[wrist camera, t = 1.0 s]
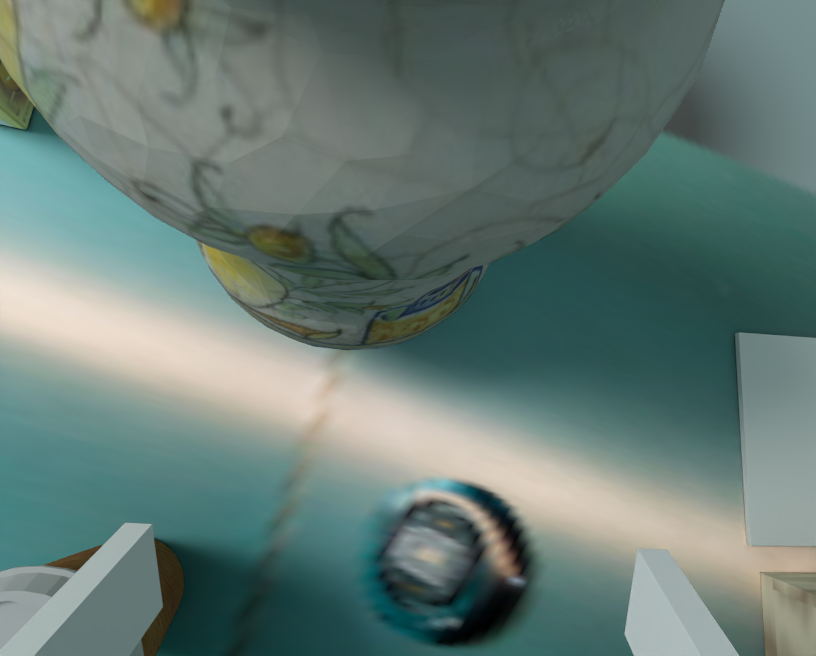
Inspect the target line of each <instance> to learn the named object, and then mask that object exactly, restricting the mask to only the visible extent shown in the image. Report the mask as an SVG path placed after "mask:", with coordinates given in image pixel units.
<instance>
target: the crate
mask: <svg viewBox="0 0 816 656" xmlns="http://www.w3.org/2000/svg"><path fill="white" fill-rule="evenodd" d="M760 574H761V591H762V607H763V624H764V640H765V656H816V573H771V572H760Z"/></svg>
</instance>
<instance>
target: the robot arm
mask: <svg viewBox="0 0 816 656" xmlns="http://www.w3.org/2000/svg"><path fill="white" fill-rule="evenodd" d="M162 608H163V603H162V595H161V588H160V580H159V573H158V565H157V558H156V550H155V543H154V535H153V528H152V524H138V523H125V524H124V525H123V526H122V527H121V528H120V529H119V530H118V531H117V532H116V533H115V534H114V535H113V536H112V537H111V538H110V539H109V540H108V541H107V542H106V543H105V544H104V545H103V546H102V547H101V548H100V549H99V550H98V551H97V552H96V553H95V554H94V555H93V556H92V557H91V558H90V559H89V560H88V561H87V562H86V563H85V564H84V565H83V566H82V567H81V568H80V569H79V570H78V571H77V572H76V573H75V574H74V575H73V576H72V577H71V578H70V579H69V580H68V581H67V582H66V583H65V584H64V585H63V586H62V587H61V588H60V589H59V590H58V591H57V592H56V593H55V594H54V595H53V597H52V598H51V599H50V600H49V601H48V602H47V603H46V604H45V605H44V606H43V607H42V608H41V609H40V610H39V611H38V612H37V613H36V614H35V615H34V616H33V617H32V618H31V619H30V620H29V621H28V622H27V623H26V624H25V625H24V626H23V627H22V628H21V629H20V630H19V631H18V632H17V633H16V634H15V635H14V636H13V637H12V638H11V639H10V640H9V641H8V642H7V643H6V644H5V645H4V646H3V647H2V648H1V649H0V656H130V654H131V653H132V651H133V650H134V648H135V647H136V646H137V644H138V643H139V641H140V640H141V638H142V637H143V635H144V634H145V632H146V631H147V629H148V628H149V627H150V625H151V624H152V622H153V621H154V619H155V618H156V616H157V615H158V613H159V612H160V610H161V609H162ZM625 636H626V638H627V641H628V643H629V645H630V647H631V650H632V652H633V654H634V656H739V655H738V653H737V652H736V650H735V649H734V647H733V646H732V644H731V643H730V641H729V640H728V638H727V637H726V635H725V634H724V632H723V631H722V630H721V628H720V627H719V625H718V624H717V622H716V621H715V619H714V618H713V616H712V615H711V613H710V612H709V610H708V609H707V607H706V606H705V604H704V603H703V601H702V600H701V599H700V597H699V596H698V594H697V593H696V591H695V590H694V588H693V587H692V585H691V584H690V582H689V581H688V579H687V578H686V576H685V575H684V573H683V572H682V571H681V569H680V568H679V566H678V565H677V563H676V562H675V560H674V559H673V557H672V556H671V554H670V553H669V551H668V550H658V549H637V556H636V562H635V569H634V575H633V582H632V588H631V595H630V602H629V608H628V615H627V621H626V628H625Z"/></svg>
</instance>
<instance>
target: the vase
mask: <svg viewBox="0 0 816 656" xmlns="http://www.w3.org/2000/svg"><path fill="white" fill-rule="evenodd" d="M724 1H725V0H0V60H1V62H2V63H3V65H4V67H5V68H6V70H7V72H8V73H9V75H10V76H11V77H12V79H13V80H14V81H15V82H16V84H17V85H18V86H19V87H20V89H21V90H22V91H23V92H24V94H25V95H26V96H27V97H28V99H29V100H30V101H31V102H32V103H33V105H34V106H35V107H36V108H37V110H38V111H39V112H40V113H41V115H42V116H43V117H44V118H45V120H46V121H47V122H48V123H49V125H50V126H51V127H52V128H53V130H54V131H55V132H56V133H57V135H58V136H59V137H60V138H61V139H62V140H63V141H64V142H65V143H66V144H67V145H68V146H69V147H71V148H72V149H73V150H74V151H75V152H76V153H77V154H78V155H79V156H80V157H81V158H82V159H84V160H85V161H86V162H87V163H88V164H89V165H90V166H91V167H92V168H93V169H94V170H96V171H97V172H98V173H99V174H100V175H101V176H102V177H103V178H104V179H105V180H107V181H108V182H109V183H110V184H111V185H113V186H114V187H115V188H117V189H118V190H119V191H121V192H122V193H123V194H125V195H126V196H127V197H129V198H130V199H131V200H132V201H134V202H135V203H136V204H138V205H139V206H140V207H142V208H143V209H144V210H146V211H147V212H148V213H150V214H151V215H152V216H154V217H155V218H157V219H159V220H161V221H162V222H164V223H166V224H168V225H170V226H172V227H174V228H175V229H177V230H179V231H181V232H183V233H185V234H187V235H188V236H190V237H192V238H194V239H196V241H197V243H198V246H199V248H200V251H201V253H202V255H203V257H204V259H205V261H206V262H207V264H208V266H209V268H210V270H211V272H212V273H213V275H214V276H215V277H216V279H217V280H218V281H219V283H220V284H221V285H222V287H223V288H224V289H225V291H226V292H227V293H228V295H229V296H230V297H231V298H232V299H233V300H234V301H235V302H236V303H237V304H238V305H240V306H241V307H242V308H243V309H244V310H245V311H246V312H247V313H249V314H250V315H251V316H252V317H253V318H255V319H256V320H258V321H259V322H261V323H262V324H264V325H265V326H266V327H268V328H270V329H272V330H274V331H276V332H279V333H281V334H283V335H285V336H287V337H290V338H292V339H294V340H297V341H299V342H302V343H305V344H308V345H311V346H315V347H324V348H333V349H341V350H359V349H377V348H382V347H386V346H390V345H394V344H398V343H402V342H404V341H407V340H409V339H412V338H414V337H416V336H418V335H420V334H422V333H424V332H426V331H428V330H430V329H432V328H434V327H435V326H436V325H438V324H439V323H441V322H442V321H444V320H445V319H446V318H448V317H449V316H451V315H452V314H454V313H455V312H456V311H457V310H458V309H459V308H460V307H461V306H462V305H463V304H464V303H465V301H466V300H467V299H468V298H469V297H470V296H471V294H472V293H473V291H474V290H475V289H476V287H477V286H478V284H479V282H480V281H481V279H482V277H483V276H484V274H485V272H486V270H487V268H488V266H489V264H490V263H492V262H494V261H496V260H499V259H501V258H503V257H505V256H507V255H509V254H511V253H514V252H516V251H518V250H520V249H522V248H524V247H526V246H529V245H531V244H533V243H535V242H537V241H538V240H540V239H542V238H544V237H546V236H548V235H550V234H552V233H554V232H556V231H558V230H560V229H561V228H562V227H563V226H565V225H566V224H567V223H569V222H570V221H571V220H573V219H574V218H575V217H576V216H578V215H579V214H580V213H582V212H583V211H584V210H586V209H587V208H588V207H589V206H591V205H592V204H593V203H595V202H596V201H597V200H599V199H600V198H601V197H602V196H603V195H604V194H605V193H606V192H607V191H608V190H609V189H610V188H611V187H612V186H613V185H614V184H615V183H616V182H617V181H618V180H619V179H621V178H622V177H623V176H624V175H625V174H626V173H627V172H628V171H629V170H630V169H631V168H632V167H633V166H634V165H635V164H636V163H637V162H638V161H639V160H640V159H641V158H642V157H643V156H644V155H645V154H646V153H647V151H648V150H649V148H650V147H651V145H652V144H653V143H654V141H655V140H656V138H657V137H658V135H659V134H660V133H661V131H662V130H663V128H664V127H665V125H666V124H667V122H668V121H669V120H670V118H671V117H672V115H673V114H674V112H675V111H676V109H677V108H678V106H679V105H680V103H681V101H682V100H683V98H684V97H685V95H686V94H687V92H688V91H689V89H690V87H691V86H692V84H693V83H694V81H695V80H696V78H697V76H698V75H699V73H700V71H701V68H702V65H703V62H704V59H705V56H706V53H707V50H708V48H709V45H710V42H711V38H712V36H713V33H714V30H715V27H716V24H717V21H718V18H719V15H720V12H721V9H722V7H723V4H724Z"/></svg>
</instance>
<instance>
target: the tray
mask: <svg viewBox="0 0 816 656" xmlns="http://www.w3.org/2000/svg"><path fill="white" fill-rule="evenodd" d="M735 346H736V364H737V381H738V399H739V416H740V434H741V452H742V469H743V487H744V504H745V522H746V539H747V544H748V545H751V546H816V338H808V337H795V336H781V335H768V334H754V333H741V332H738V333H735Z"/></svg>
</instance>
